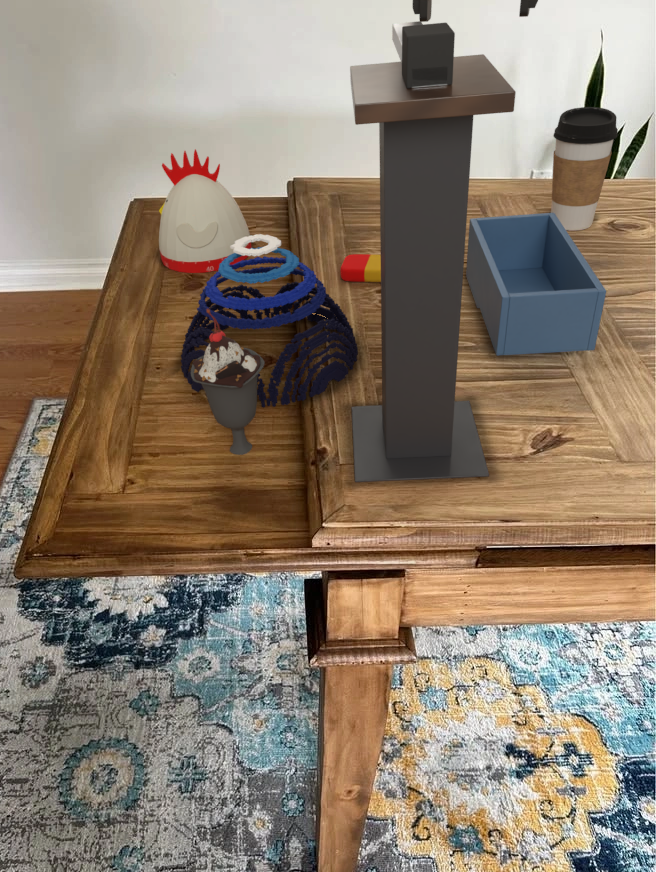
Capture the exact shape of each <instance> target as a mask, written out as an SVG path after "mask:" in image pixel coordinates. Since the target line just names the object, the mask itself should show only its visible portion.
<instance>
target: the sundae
mask: <svg viewBox="0 0 656 872" xmlns="http://www.w3.org/2000/svg"><path fill="white" fill-rule="evenodd" d="M206 311H207V313H208V314H209V315H210V316H211V317H212V318H213V320H214V326H215V329H213V330H214V333H212V334H211V335H210V336H209V338H208V340H209V341H210V342H209V343H210V344H209V345H208V347H207V346H206V348H205V350H204V351H205V355H204V356H201V357H199V358H198V359H195V360H194V359H193V360H192V362H191V363H192V364H191V368H190V370H191V377H192V379H193V381H195V382H197V383H201V384H202V386H203V388H204V390H203V391H204V394H205V396H206V399H207V402H208V405H209V408H210V411H211V412H212V415H213V418H214V420H215V421H216V423H217V424H219V425H221V426H222V427H224V428H226V429H229V430H231V434H232V444H231V446H230V447H229V452H230V453H231V454H233V455H237V456H244V455H247V454H248V453H250V452H251V450H252V448H253V444H252V443H250V442H249V441H248V439H247V437H246V432H245V427H247V426H248V425H249V424H250V423H251V422H252V421H253V419H254V418H255V417H256V414H257V405H258V395H257V389H258V382H257V378H259V377H258V373H259V374H260V372H261V371H262V370H263V369H264V367H265V360H264V359H263V357H262V356H261V355H260V354H259V353H257V352H256V351H254V350H253V349H250V348H249V347H243V346H240V344H239V343H238V342H237V341H236V342H235V339H232V338H230V337H227V336H226V333H225V332H224V330H223V331H222V330H220V327H219V324H218V322H217V320H216V319H215V318H214V317H213V316H212V315H211V313H210V309H206ZM216 324H217V327H218V328H216Z"/></svg>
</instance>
